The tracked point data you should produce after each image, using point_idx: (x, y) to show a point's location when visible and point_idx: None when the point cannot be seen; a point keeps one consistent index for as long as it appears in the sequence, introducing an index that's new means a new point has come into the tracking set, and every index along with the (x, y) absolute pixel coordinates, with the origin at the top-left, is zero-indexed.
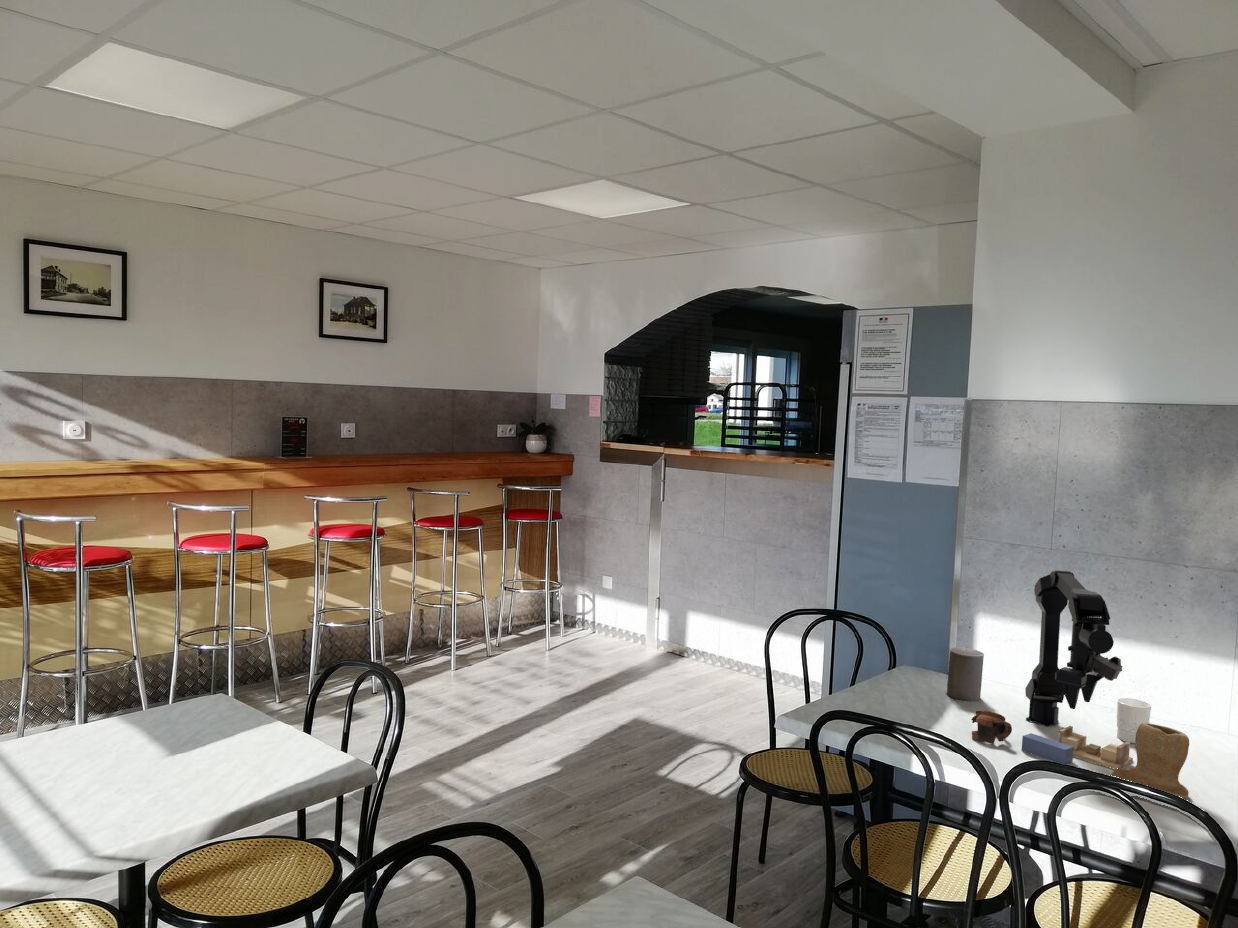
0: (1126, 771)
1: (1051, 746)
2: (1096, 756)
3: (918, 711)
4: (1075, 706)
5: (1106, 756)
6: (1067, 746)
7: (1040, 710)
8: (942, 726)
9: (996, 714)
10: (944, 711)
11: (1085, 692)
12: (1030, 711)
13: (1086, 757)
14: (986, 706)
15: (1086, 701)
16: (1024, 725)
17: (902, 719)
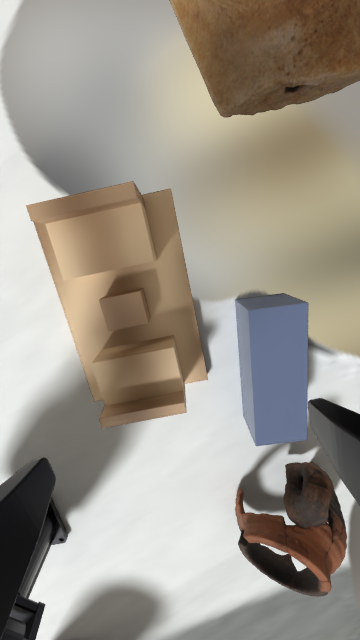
0: (318, 24)
1: (305, 348)
2: (147, 281)
3: (267, 633)
4: (328, 405)
5: (151, 241)
6: (265, 321)
7: (34, 552)
8: None
9: (313, 558)
10: (211, 619)
11: (12, 555)
12: (42, 560)
13: (188, 288)
14: (83, 613)
15: (50, 470)
16: (105, 515)
17: (347, 614)
